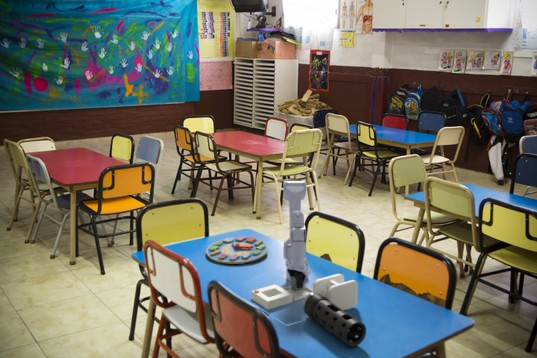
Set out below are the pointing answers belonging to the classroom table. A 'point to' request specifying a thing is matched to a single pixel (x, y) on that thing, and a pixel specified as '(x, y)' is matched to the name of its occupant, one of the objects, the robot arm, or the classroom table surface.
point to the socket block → (271, 296)
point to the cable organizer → (337, 290)
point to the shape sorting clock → (237, 250)
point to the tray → (299, 292)
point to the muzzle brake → (334, 319)
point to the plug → (294, 284)
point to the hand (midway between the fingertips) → (297, 286)
